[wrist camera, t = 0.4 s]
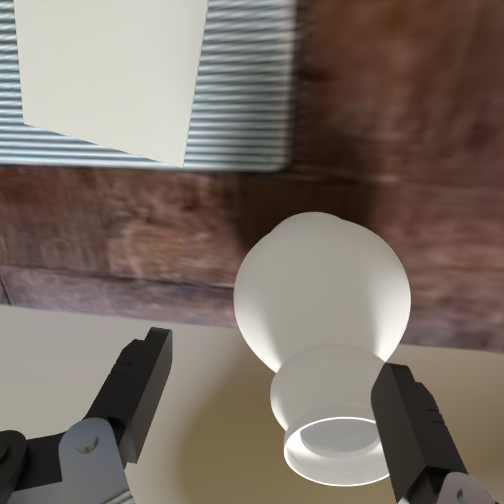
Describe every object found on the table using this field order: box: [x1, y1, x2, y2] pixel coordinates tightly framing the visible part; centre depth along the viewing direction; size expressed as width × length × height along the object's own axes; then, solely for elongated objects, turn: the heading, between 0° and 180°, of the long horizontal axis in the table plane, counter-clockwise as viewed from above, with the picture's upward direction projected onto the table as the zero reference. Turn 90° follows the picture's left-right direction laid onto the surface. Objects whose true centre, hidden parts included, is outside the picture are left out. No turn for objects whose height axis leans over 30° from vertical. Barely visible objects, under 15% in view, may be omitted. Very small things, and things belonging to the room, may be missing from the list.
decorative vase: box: [234, 212, 411, 486], centre depth 32 cm, size 18×18×25 cm
